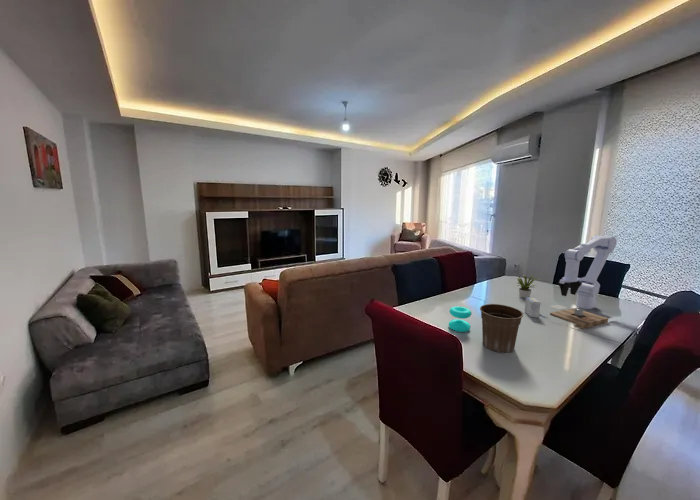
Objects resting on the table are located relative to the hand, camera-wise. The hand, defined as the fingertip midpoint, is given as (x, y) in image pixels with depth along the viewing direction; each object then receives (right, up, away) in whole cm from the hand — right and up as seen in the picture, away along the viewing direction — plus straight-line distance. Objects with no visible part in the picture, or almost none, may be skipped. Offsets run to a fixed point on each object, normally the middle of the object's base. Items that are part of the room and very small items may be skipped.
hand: (568, 295), depth 160 cm
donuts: (-68, -14, -19) cm, 72 cm away
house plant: (-8, -7, +25) cm, 27 cm away
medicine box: (-21, -11, -1) cm, 24 cm away
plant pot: (-58, -17, -36) cm, 70 cm away
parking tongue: (-1, -9, +7) cm, 12 cm away
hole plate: (-1, -12, -8) cm, 15 cm away
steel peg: (-1, -12, -8) cm, 14 cm away
